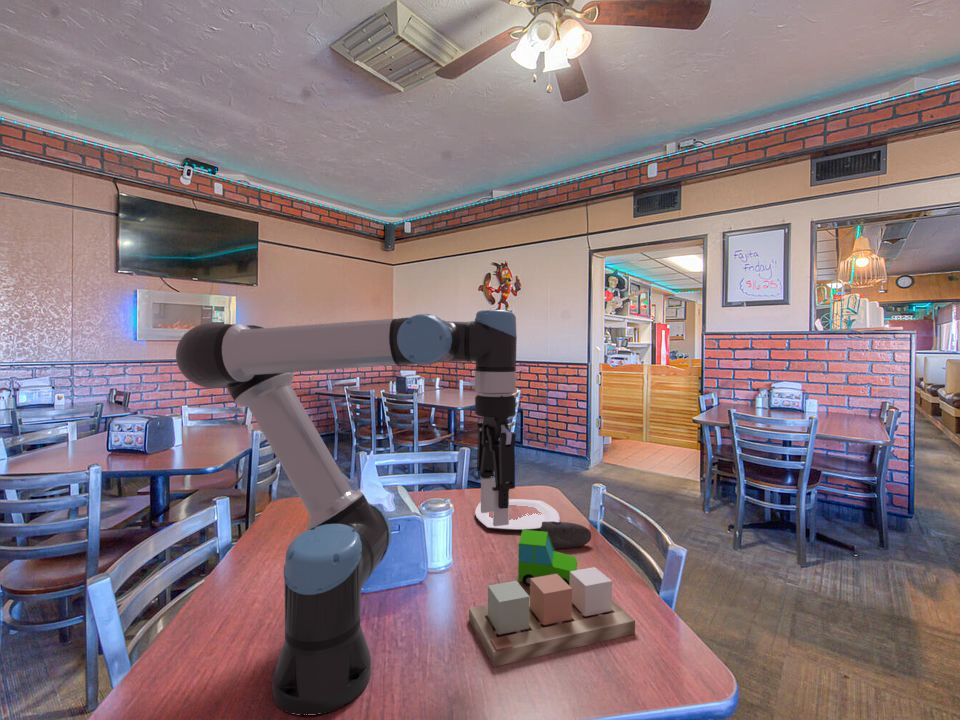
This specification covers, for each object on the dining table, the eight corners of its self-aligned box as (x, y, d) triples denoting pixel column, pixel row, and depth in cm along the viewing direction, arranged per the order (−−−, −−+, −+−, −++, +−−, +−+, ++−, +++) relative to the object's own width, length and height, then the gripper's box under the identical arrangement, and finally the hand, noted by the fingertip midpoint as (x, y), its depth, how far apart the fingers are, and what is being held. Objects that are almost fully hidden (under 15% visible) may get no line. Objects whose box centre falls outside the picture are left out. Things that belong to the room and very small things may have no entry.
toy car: (577, 595, 99) (577, 551, 99) (517, 588, 102) (518, 545, 102) (576, 573, 109) (577, 532, 109) (522, 567, 112) (523, 527, 112)
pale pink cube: (585, 616, 87) (585, 585, 87) (569, 600, 93) (569, 571, 92) (611, 610, 89) (612, 580, 89) (594, 595, 95) (594, 567, 94)
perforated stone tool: (588, 542, 127) (588, 518, 127) (594, 550, 122) (594, 525, 122) (536, 543, 126) (536, 519, 126) (540, 551, 121) (540, 526, 121)
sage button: (498, 634, 81) (499, 602, 81) (487, 616, 87) (487, 585, 87) (529, 628, 83) (529, 596, 83) (516, 610, 89) (516, 580, 89)
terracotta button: (543, 625, 84) (544, 593, 84) (529, 607, 90) (530, 578, 90) (571, 619, 86) (572, 588, 86) (556, 602, 92) (556, 573, 91)
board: (493, 666, 77) (493, 650, 76) (468, 620, 90) (469, 605, 90) (634, 633, 86) (635, 618, 86) (593, 595, 99) (593, 582, 99)
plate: (471, 505, 157) (471, 500, 157) (546, 503, 160) (546, 497, 160) (479, 537, 131) (479, 530, 131) (569, 533, 134) (569, 527, 133)
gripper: (536, 399, 75) (535, 535, 76) (495, 389, 93) (494, 499, 94) (494, 400, 73) (493, 541, 73) (461, 390, 91) (460, 503, 91)
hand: (494, 517), depth 83 cm, fingers open, 6 cm apart
